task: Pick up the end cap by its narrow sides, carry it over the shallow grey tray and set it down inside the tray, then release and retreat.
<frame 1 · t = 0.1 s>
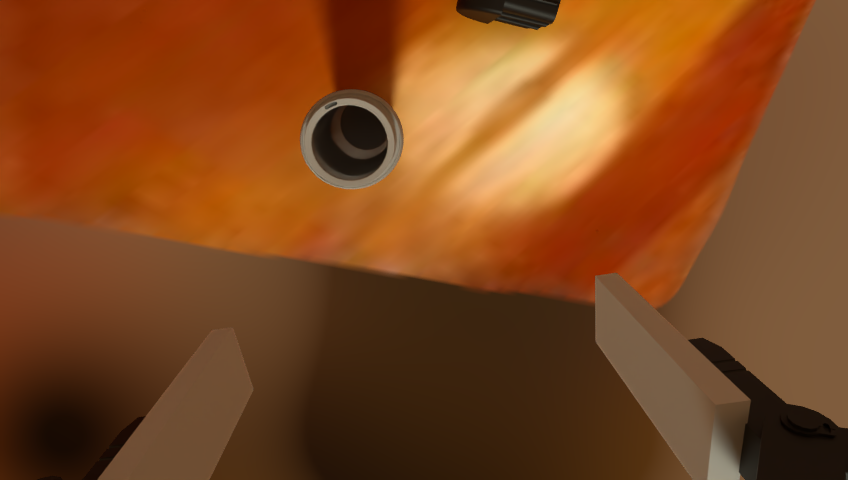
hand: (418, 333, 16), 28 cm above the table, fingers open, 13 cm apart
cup: (365, 124, 41), on the table
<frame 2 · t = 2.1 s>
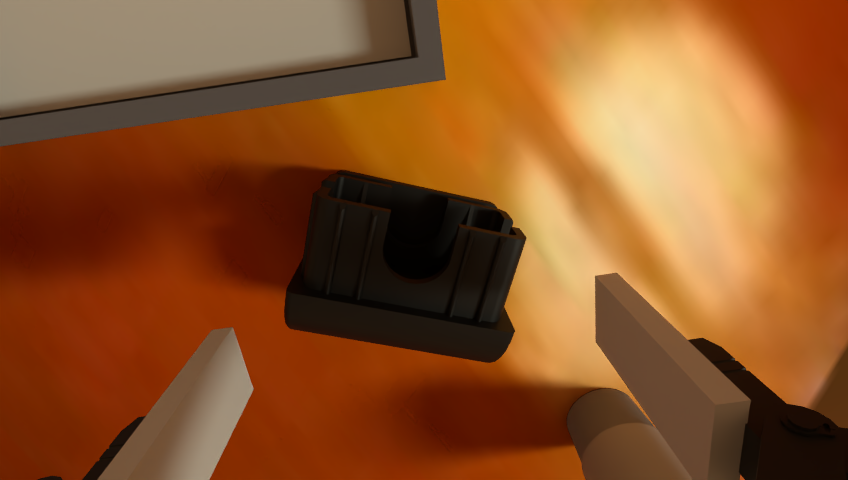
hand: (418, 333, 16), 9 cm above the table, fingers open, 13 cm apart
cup: (599, 414, 30), on the table
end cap: (404, 245, 25), on the table
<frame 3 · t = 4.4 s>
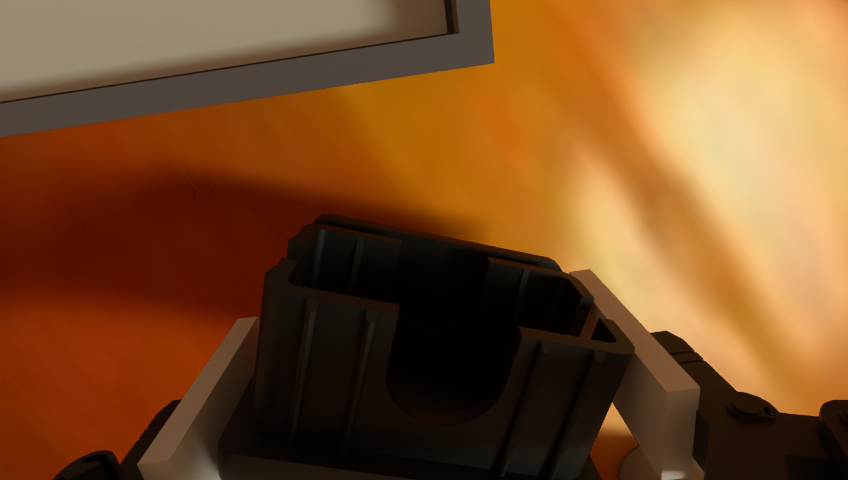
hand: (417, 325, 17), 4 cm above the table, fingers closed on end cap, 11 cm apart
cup: (658, 466, 25), on the table
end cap: (420, 318, 17), point 4 cm above the table, touching gripper
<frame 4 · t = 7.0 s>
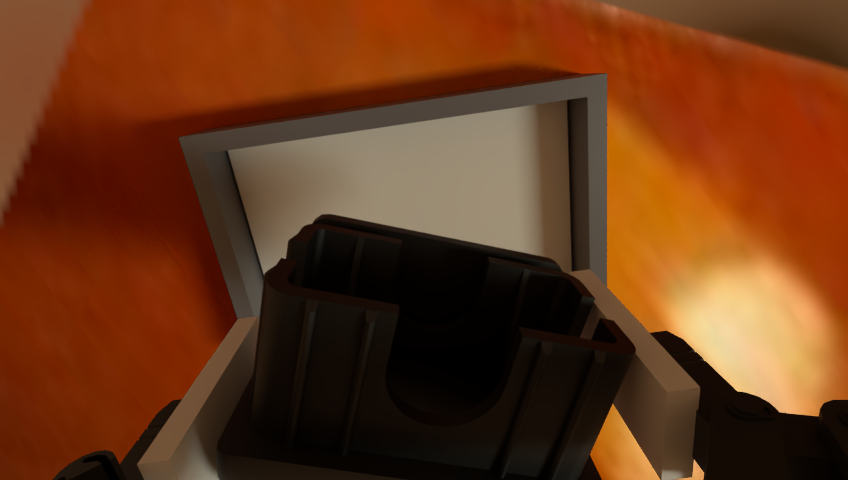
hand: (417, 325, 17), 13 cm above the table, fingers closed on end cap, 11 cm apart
shallow grey tray: (412, 222, 29), on the table
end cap: (420, 318, 17), point 12 cm above the table, touching gripper
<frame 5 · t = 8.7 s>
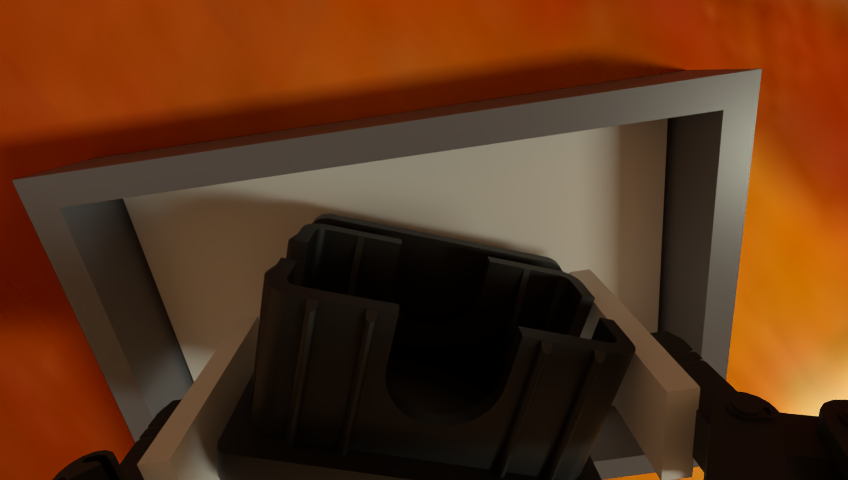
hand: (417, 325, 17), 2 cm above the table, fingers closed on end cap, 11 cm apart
shallow grey tray: (416, 296, 19), on the table
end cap: (420, 318, 17), point 2 cm above the table, touching gripper
when the fingers open (2 cm above the table, at t = 9.8 s): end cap stays where it is, resting on shallow grey tray.
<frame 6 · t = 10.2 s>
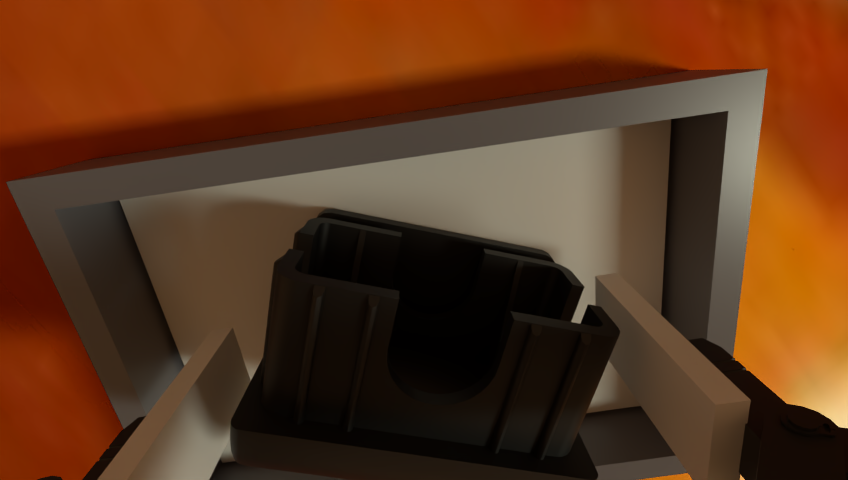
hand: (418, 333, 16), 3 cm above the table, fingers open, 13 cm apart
shallow grey tray: (416, 298, 19), on the table
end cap: (419, 308, 18), point 1 cm above the table, touching shallow grey tray
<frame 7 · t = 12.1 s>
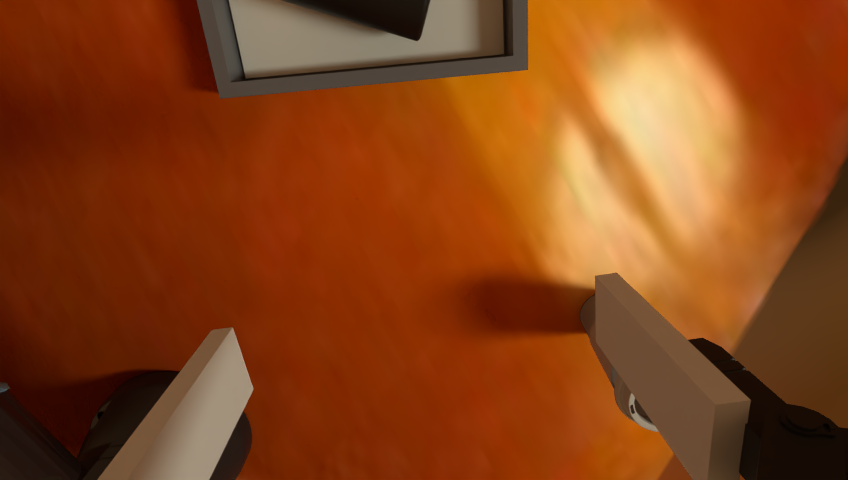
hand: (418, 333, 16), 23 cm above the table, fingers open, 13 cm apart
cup: (603, 311, 43), on the table
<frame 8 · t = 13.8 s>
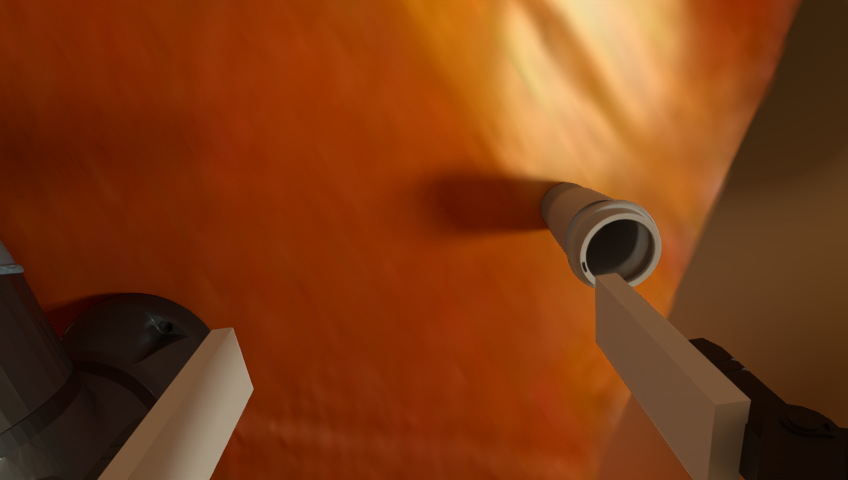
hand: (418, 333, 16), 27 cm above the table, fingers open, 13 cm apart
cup: (564, 205, 43), on the table
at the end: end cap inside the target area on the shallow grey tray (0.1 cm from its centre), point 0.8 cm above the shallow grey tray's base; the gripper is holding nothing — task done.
